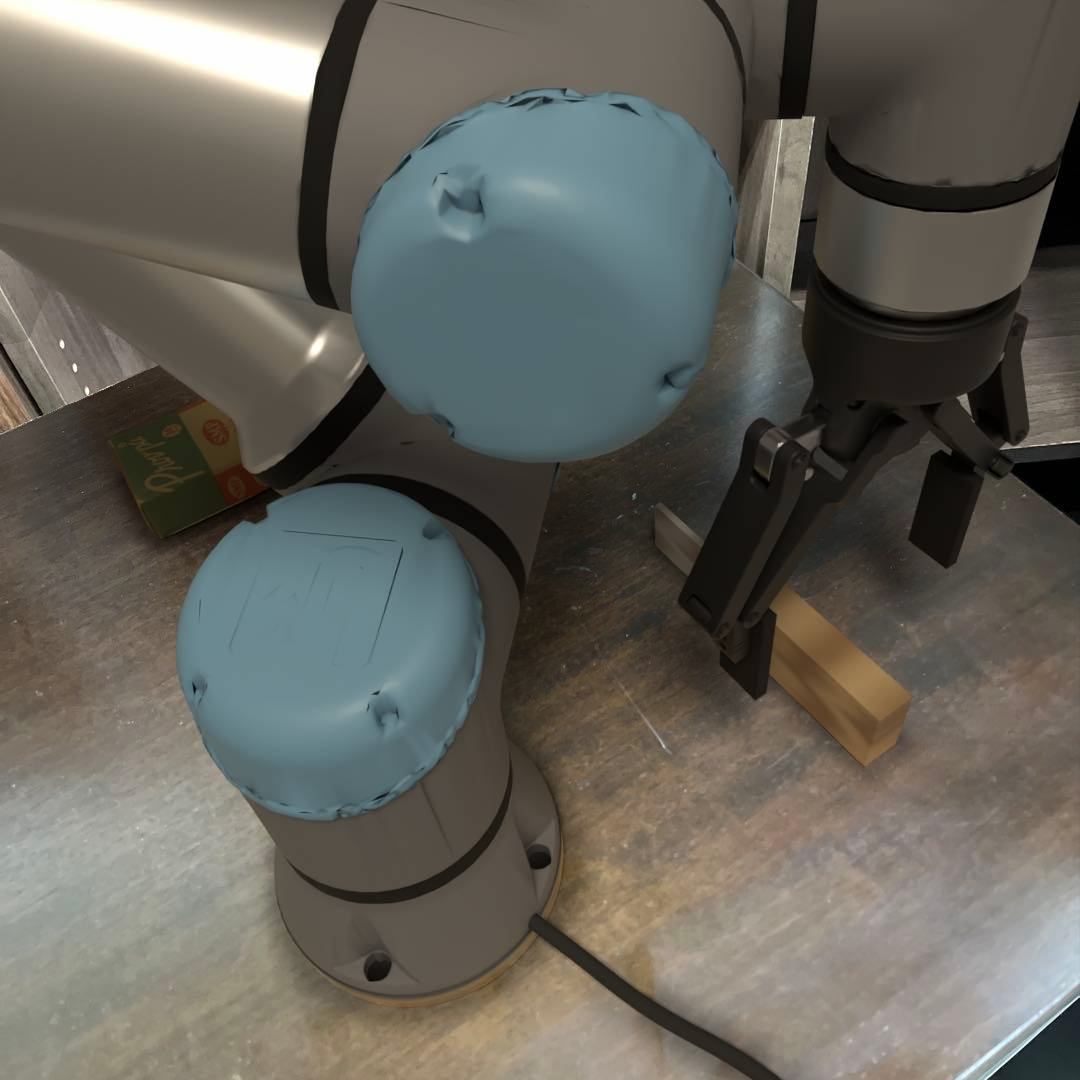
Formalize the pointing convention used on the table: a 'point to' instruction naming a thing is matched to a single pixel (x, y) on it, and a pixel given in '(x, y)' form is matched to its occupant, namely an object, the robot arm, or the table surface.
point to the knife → (814, 661)
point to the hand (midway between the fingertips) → (840, 613)
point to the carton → (184, 467)
